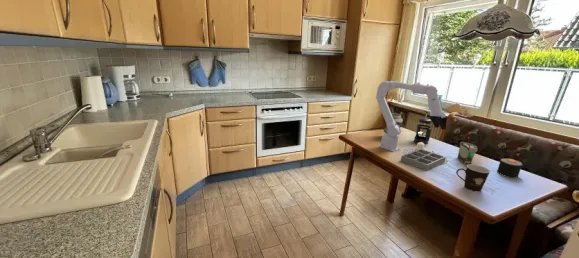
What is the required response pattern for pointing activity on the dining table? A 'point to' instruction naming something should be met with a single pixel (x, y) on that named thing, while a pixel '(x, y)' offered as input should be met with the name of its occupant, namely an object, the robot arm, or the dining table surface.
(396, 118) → the apothecary jar
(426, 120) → the french press
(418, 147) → the egg
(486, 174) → the coffee mug
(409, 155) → the grey compartment tray
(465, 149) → the food container
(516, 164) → the sushi
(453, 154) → the dining table surface
